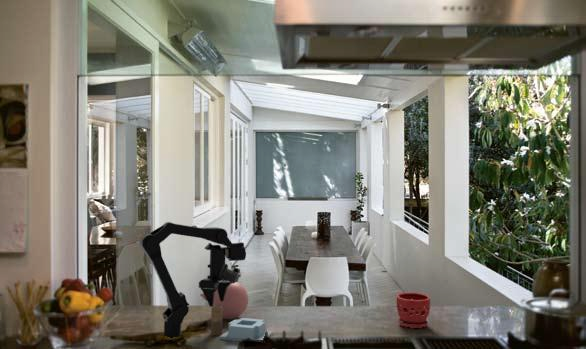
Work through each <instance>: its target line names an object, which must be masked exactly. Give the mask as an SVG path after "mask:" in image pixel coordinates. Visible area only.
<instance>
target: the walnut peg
mask: <svg viewBox="0 0 586 349" xmlns="http://www.w3.org/2000/svg"><path fill="white" fill-rule="evenodd" d="M210 315H211V316H210V317H211V321H210V324H211V325H210V329H211V330H210V334H211V336H221V335H223V318H222V306H220V305H215V306H212V307H211V314H210Z"/></svg>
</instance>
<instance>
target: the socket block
mask: <svg viewBox="0 0 586 349" xmlns="http://www.w3.org/2000/svg"><path fill="white" fill-rule="evenodd" d="M227 327H228V330H227V331H226V332H224V333H222V334H221V335H219V340H223V341H233V342H235V341H236V342H242V341H241V340H242V339H246V338H250V339H252V340H263V338H264V336H265V332H266V331H267V332H268V336H269V335H270V334H272V333H273V334H274V332H273V330H271V331H269V330H266V322H265V319H257V318H247V317H246V318H244V317H241V318H239V319H234V320H232V321H230V322H228V326H227Z"/></svg>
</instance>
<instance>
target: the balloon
mask: <svg viewBox="0 0 586 349" xmlns="http://www.w3.org/2000/svg"><path fill="white" fill-rule="evenodd" d="M229 282H230V281H229ZM199 295H200V297H202V298H203V299H204V301H207V299H206V297H205V295H204V293H203V292H202V293H201V294H199ZM248 304H249V294H248V291H247V290H246V288H245V287H244V286H243V284H241V283H239V281H238V282H235V283H232V284H230V285H229V286H228V288H227V291H226V294H225V298H224V301H223V302H222V301H220V298H219V294H218V290H217V291H216V292H215V296H214V303H213V306H215V305H220V306H222V319H225V320H227V319H228V320H231V319H236V318H238V317H240V316H241V315H242V314H244V312H245V311H246V309H247V307H248Z"/></svg>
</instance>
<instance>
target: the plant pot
mask: <svg viewBox="0 0 586 349" xmlns="http://www.w3.org/2000/svg"><path fill="white" fill-rule="evenodd" d="M395 302H396V310H397V314H398V317H399V318H398V319H397V322H398V324H399V325H400V326H402V327H404V326H405V327H404V328H407V327H410V328H409V329H414V328H419V329H423V328H422V327H424V328H426V327H427V326H428V325H429V322H428V320H427V319H428V317H429V314H430V311H431V297H430V296H429V295H428V294H423V293H419V292H418V293H417V292H401V293H399V294H396V300H395Z"/></svg>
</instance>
